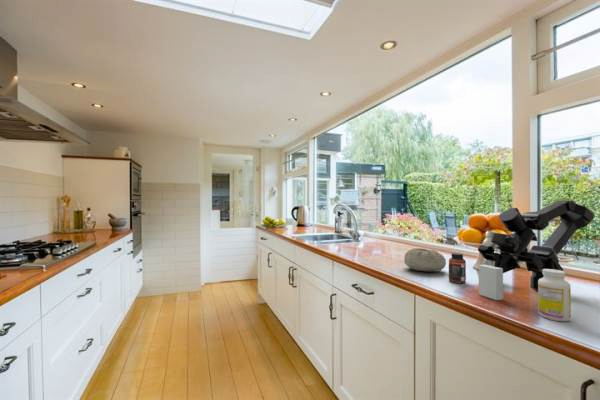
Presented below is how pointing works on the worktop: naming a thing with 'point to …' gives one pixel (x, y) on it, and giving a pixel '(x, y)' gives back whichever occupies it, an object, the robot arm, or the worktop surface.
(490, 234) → the stone figurine
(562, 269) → the robot arm
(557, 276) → the supplement bottle
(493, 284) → the white rectangular block
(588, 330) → the worktop surface
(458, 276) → the supplement bottle
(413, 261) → the smooth grey pebble
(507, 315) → the worktop surface
